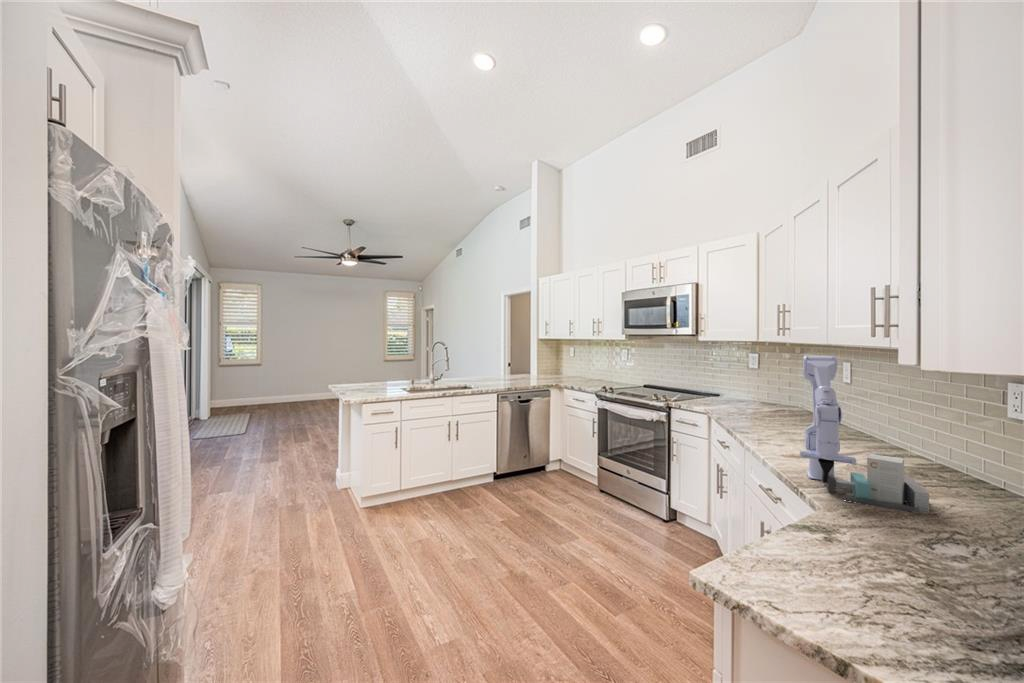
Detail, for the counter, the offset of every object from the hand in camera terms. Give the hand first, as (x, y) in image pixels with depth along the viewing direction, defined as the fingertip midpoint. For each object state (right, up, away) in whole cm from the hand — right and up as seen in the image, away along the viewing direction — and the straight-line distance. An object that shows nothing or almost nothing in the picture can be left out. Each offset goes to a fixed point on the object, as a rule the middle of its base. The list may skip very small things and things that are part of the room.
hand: (826, 482), depth 134 cm
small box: (+13, -3, -7) cm, 15 cm away
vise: (+12, -3, -7) cm, 14 cm away
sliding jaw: (+4, -3, -3) cm, 6 cm away
